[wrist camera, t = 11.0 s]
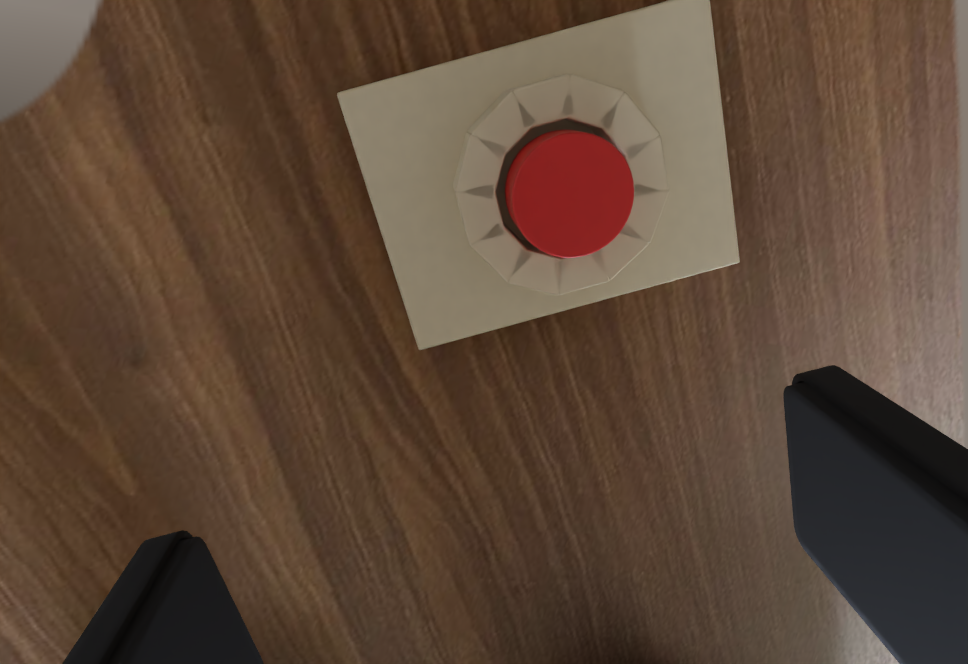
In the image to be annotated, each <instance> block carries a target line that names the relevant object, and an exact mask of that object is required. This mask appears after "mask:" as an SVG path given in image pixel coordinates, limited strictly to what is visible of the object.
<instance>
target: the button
mask: <svg viewBox="0 0 968 664" xmlns="http://www.w3.org/2000/svg"><path fill="white" fill-rule="evenodd" d="M505 199H506V205H507V208H508V211H509V214H510V216H511V218H512V220H513V221H514V223H515V225H516V226H517V227H518V229H519V230H520V231H521V233H522V234H523V235H524V237H525V238H526V239H527V240H528V241H529V242H530V243H531V244H532V245H533V246H535V247H536V248H538V249H539V250H541V251H543V252H545V253H547V254H549V255H552V256H556V257H562V258H576V257H582V256H586V255H589V254H592V253H594V252H596V251H598V250H600V249H602V248H603V247H605V246H606V245H608V244H609V243H610V242H611V241H612V240H613V239H614V238H615V237H616V236H617V235H618V234H619V233H620V231H621V230H622V229H623V227H624V226H625V224H626V222H627V220H628V218H629V215H630V213H631V209H632V206H633V200H634V182H633V177H632V173H631V170H630V167H629V165H628V163H627V161H626V159H625V158H624V156H623V155H622V154H621V152H620V151H619V150H618V149H617V148H616V147H615V146H614V145H613V144H611V143H610V142H609V141H607V140H605V139H604V138H602V137H600V136H597V135H594V134H590V133H586V132H581V131H575V130H555V131H550V132H547V133H544V134H542V135H540V136H538V137H536V138H534V139H533V140H531V141H530V142H528V143H527V144H526V145H525V146H524V147H523V148H522V149H521V150H520V151H519V153H518V154H517V155H516V157H515V158H514V160H513V162H512V164H511V166H510V168H509V171H508V174H507V178H506V183H505Z"/></svg>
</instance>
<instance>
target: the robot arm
mask: <svg viewBox="0 0 968 664" xmlns="http://www.w3.org/2000/svg"><path fill="white" fill-rule="evenodd" d="M784 409H785V421H786V434H787V446H788V458H789V471H790V483H791V495H792V508H793V520H794V528H795V532H796V535H797V538H798V540H799V542H800V544H801V546H802V547H803V549H804V550H805V551H806V553H807V554H808V555H809V556H810V557H811V559H812V560H813V561H814V562H815V563H816V565H817V566H818V567H819V568H820V569H821V570H822V572H823V573H824V574H825V575H826V576H827V578H828V579H829V580H830V581H831V582H832V584H833V585H834V586H835V587H836V588H837V590H838V591H839V592H840V593H841V594H842V595H843V597H844V598H845V599H846V600H847V601H848V603H849V604H850V605H851V606H852V607H853V609H854V610H855V611H856V612H857V613H858V614H859V616H860V617H861V618H862V619H863V620H864V622H865V623H866V624H867V625H868V626H869V628H870V629H871V630H872V631H873V632H874V634H875V635H876V636H877V637H878V638H879V639H880V641H881V642H882V643H883V644H884V645H885V647H886V648H887V649H888V650H889V651H890V653H891V654H892V655H893V656H894V657H895V658H896V660H897V661H898V662H899V663H900V664H968V449H966V448H965V447H963V446H962V445H960V444H958V443H957V442H955V441H954V440H952V439H951V438H949V437H948V436H946V435H944V434H943V433H941V432H940V431H938V430H937V429H935V428H933V427H932V426H930V425H929V424H927V423H926V422H924V421H922V420H921V419H919V418H918V417H916V416H915V415H913V414H912V413H910V412H908V411H907V410H905V409H904V408H902V407H901V406H899V405H897V404H896V403H894V402H893V401H891V400H890V399H888V398H887V397H885V396H883V395H882V394H880V393H879V392H877V391H876V390H874V389H872V388H871V387H869V386H868V385H866V384H865V383H863V382H862V381H860V380H858V379H857V378H855V377H854V376H852V375H851V374H849V373H847V372H846V371H844V370H843V369H841V368H840V367H837V366H835V365H832V366H827V367H823V368H819V369H815V370H811V371H807V372H804V373H800V374H796V375H795V376H794V378H793V381H792V385H790V386H787V387H786V388H785V389H784ZM63 664H264V663H263V661H262V658H261V656H260V654H259V652H258V650H257V648H256V646H255V644H254V642H253V640H252V638H251V636H250V633H249V631H248V629H247V627H246V625H245V623H244V621H243V619H242V617H241V615H240V613H239V611H238V609H237V607H236V605H235V603H234V601H233V599H232V597H231V595H230V593H229V591H228V589H227V586H226V584H225V582H224V580H223V578H222V576H221V574H220V572H219V570H218V568H217V566H216V564H215V562H214V560H213V558H212V556H211V554H210V552H209V550H208V548H207V546H206V544H205V542H204V541H203V539H201V538H200V537H192V535H191V534H190V533H188V532H187V531H179V532H175V533H171V534H167V535H163V536H159V537H155V538H151V539H148V540H145V541H144V542H143V543H142V544H141V545H140V547H139V548H138V550H137V552H136V553H135V555H134V556H133V558H132V559H131V561H130V562H129V564H128V565H127V567H126V568H125V570H124V571H123V573H122V574H121V576H120V577H119V579H118V580H117V582H116V583H115V585H114V586H113V588H112V589H111V591H110V592H109V594H108V595H107V597H106V598H105V600H104V601H103V603H102V604H101V606H100V608H99V609H98V611H97V612H96V614H95V615H94V617H93V618H92V620H91V621H90V623H89V624H88V626H87V627H86V629H85V630H84V632H83V633H82V635H81V636H80V638H79V639H78V641H77V642H76V644H75V645H74V647H73V648H72V650H71V651H70V653H69V654H68V656H67V657H66V659H65V661H64V662H63Z"/></svg>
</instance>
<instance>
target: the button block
mask: <svg viewBox="0 0 968 664" xmlns="http://www.w3.org/2000/svg"><path fill="white" fill-rule="evenodd" d="M337 97H338V100H339V103H340V106H341V109H342V112H343V115H344V119H345V122H346V125H347V128H348V131H349V134H350V137H351V140H352V143H353V147H354V150H355V153H356V156H357V159H358V162H359V165H360V168H361V171H362V175H363V178H364V181H365V184H366V187H367V190H368V193H369V196H370V199H371V203H372V206H373V209H374V212H375V215H376V218H377V221H378V224H379V228H380V231H381V234H382V237H383V240H384V243H385V246H386V249H387V252H388V256H389V259H390V262H391V265H392V268H393V271H394V274H395V277H396V280H397V284H398V287H399V290H400V293H401V296H402V299H403V302H404V305H405V308H406V312H407V315H408V318H409V321H410V324H411V327H412V330H413V333H414V336H415V340H416V343H417V346H418V349H419V350H423V349H426V348H430V347H434V346H437V345H441V344H445V343H448V342H452V341H455V340H459V339H463V338H466V337H470V336H474V335H477V334H481V333H485V332H488V331H492V330H496V329H499V328H503V327H507V326H510V325H514V324H517V323H521V322H525V321H528V320H532V319H536V318H539V317H543V316H547V315H550V314H554V313H558V312H561V311H565V310H568V309H572V308H576V307H579V306H583V305H587V304H590V303H594V302H598V301H601V300H605V299H609V298H612V297H616V296H620V295H623V294H627V293H630V292H634V291H638V290H641V289H645V288H649V287H652V286H656V285H660V284H663V283H667V282H671V281H674V280H678V279H681V278H685V277H689V276H692V275H696V274H700V273H703V272H707V271H711V270H714V269H718V268H722V267H725V266H729V265H733V264H736V263H739V262H740V259H739V250H738V242H737V233H736V224H735V215H734V207H733V198H732V189H731V181H730V172H729V163H728V155H727V146H726V137H725V128H724V120H723V111H722V102H721V94H720V85H719V76H718V67H717V59H716V50H715V41H714V33H713V24H712V15H711V6H710V0H669V1H665V2H662V3H658V4H655V5H651V6H647V7H644V8H640V9H637V10H633V11H629V12H626V13H622V14H619V15H615V16H612V17H608V18H604V19H601V20H597V21H594V22H590V23H586V24H583V25H579V26H576V27H572V28H568V29H565V30H561V31H558V32H554V33H550V34H547V35H543V36H540V37H536V38H532V39H529V40H525V41H522V42H518V43H514V44H511V45H507V46H504V47H500V48H496V49H493V50H489V51H486V52H482V53H478V54H475V55H471V56H468V57H464V58H460V59H457V60H453V61H450V62H446V63H442V64H439V65H435V66H432V67H428V68H424V69H421V70H417V71H414V72H410V73H406V74H403V75H399V76H396V77H392V78H388V79H385V80H381V81H378V82H374V83H370V84H367V85H363V86H360V87H356V88H352V89H349V90H345V91H342V92H339V93H337ZM555 130H575V131H581V132H586V133H590V134H594V135H597V136H600V137H602V138H604V139H605V140H607V141H609V142H610V143H611V144H613V145H614V146H615V147H616V148H617V149H618V150H619V151H620V152H621V154H622V155H623V156H624V158H625V159H626V161H627V163H628V165H629V167H630V170H631V173H632V177H633V182H634V200H633V206H632V209H631V213H630V215H629V218H628V220H627V222H626V224H625V226H624V227H623V229H622V230H621V231H620V233H619V234H618V235H617V236H616V237H615V238H614V239H613V240H612V241H611V242H610V243H609V244H608V245H606V246H605V247H603V248H602V249H600V250H598V251H596V252H594V253H592V254H589V255H586V256H582V257H576V258H562V257H556V256H552V255H549V254H547V253H545V252H543V251H541V250H539V249H538V248H536V247H535V246H533V245H532V244H531V243H530V242H529V241H528V240H527V239H526V238H525V237H524V235H523V234H522V233H521V231H520V230H519V229H518V227H517V226H516V225H515V223H514V221H513V220H512V218H511V216H510V214H509V211H508V208H507V205H506V199H505V183H506V178H507V174H508V171H509V168H510V166H511V164H512V162H513V160H514V158H515V157H516V155H517V154H518V153H519V151H520V150H521V149H522V148H523V147H524V146H525V145H526V144H527V143H528V142H530V141H531V140H533V139H534V138H536V137H538V136H540V135H542V134H544V133H547V132H550V131H555Z"/></svg>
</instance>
